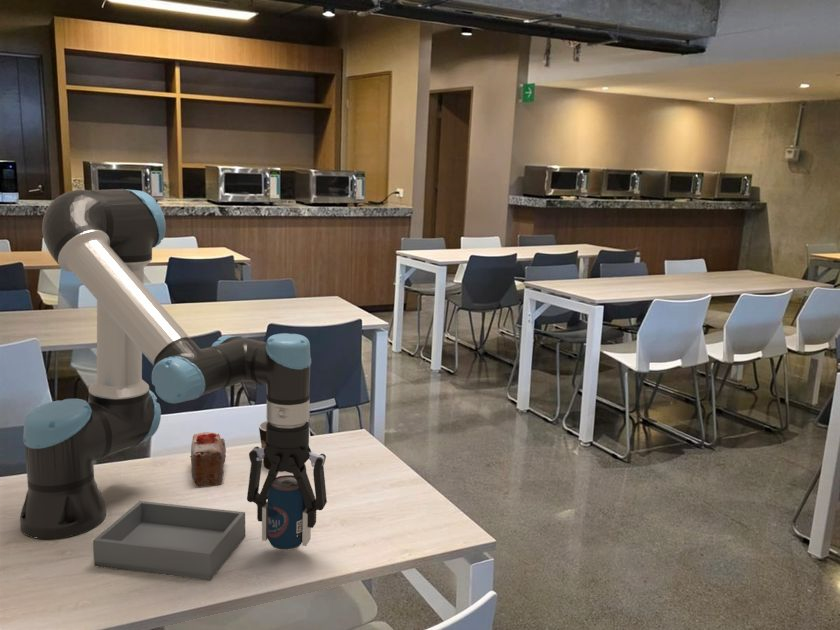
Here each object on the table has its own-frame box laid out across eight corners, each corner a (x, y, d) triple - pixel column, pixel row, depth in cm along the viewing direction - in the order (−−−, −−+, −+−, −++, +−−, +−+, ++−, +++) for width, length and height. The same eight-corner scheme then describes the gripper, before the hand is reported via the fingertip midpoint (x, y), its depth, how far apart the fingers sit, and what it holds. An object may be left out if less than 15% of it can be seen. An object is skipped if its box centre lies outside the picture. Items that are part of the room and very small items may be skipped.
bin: (94, 566, 127) (92, 540, 126) (140, 524, 142) (139, 500, 141) (210, 580, 124) (209, 553, 123) (245, 536, 139) (245, 512, 138)
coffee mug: (257, 459, 175) (257, 420, 173) (293, 456, 177) (293, 418, 175) (262, 479, 164) (261, 437, 162) (300, 475, 167) (300, 435, 165)
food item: (190, 464, 171) (188, 425, 169) (224, 461, 173) (224, 422, 171) (191, 489, 158) (190, 446, 156) (228, 485, 161) (228, 443, 159)
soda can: (259, 543, 131) (259, 482, 129) (285, 529, 137) (286, 470, 135) (286, 556, 128) (287, 493, 125) (313, 540, 133) (314, 480, 131)
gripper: (226, 423, 125) (226, 543, 130) (336, 434, 123) (333, 556, 127) (242, 409, 133) (242, 523, 137) (347, 419, 130) (344, 536, 135)
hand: (286, 539), depth 132 cm, fingers closed on soda can, 7 cm apart
